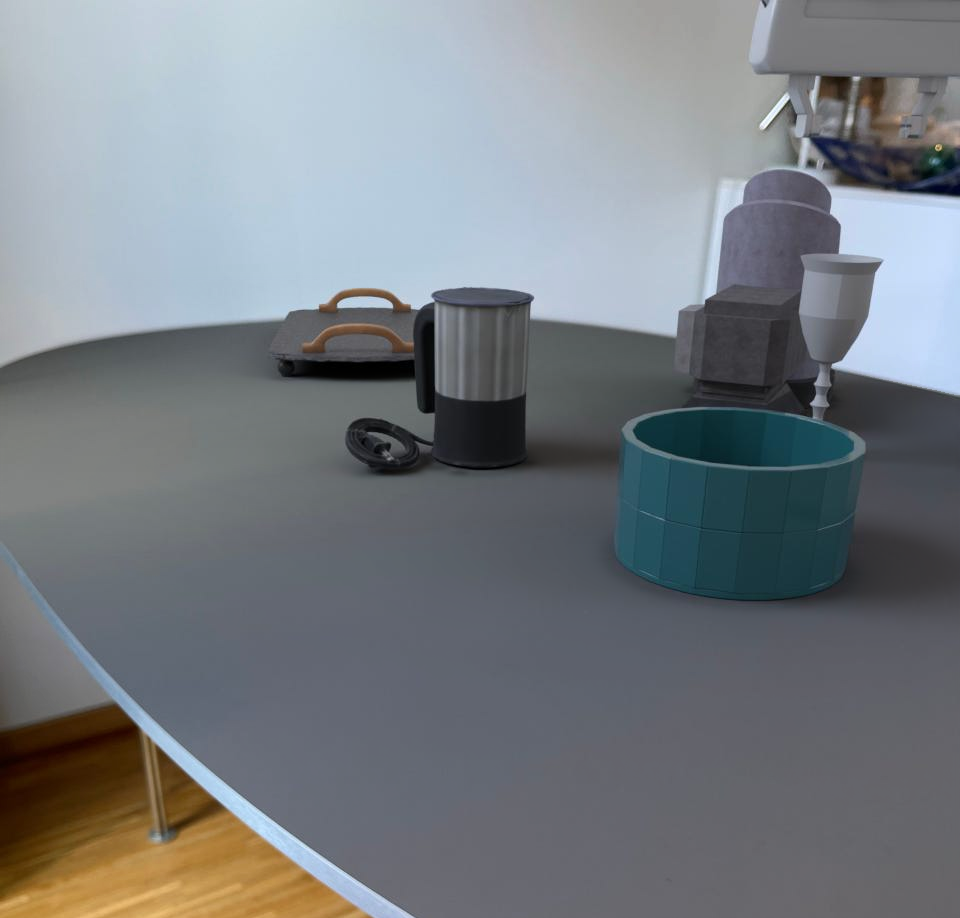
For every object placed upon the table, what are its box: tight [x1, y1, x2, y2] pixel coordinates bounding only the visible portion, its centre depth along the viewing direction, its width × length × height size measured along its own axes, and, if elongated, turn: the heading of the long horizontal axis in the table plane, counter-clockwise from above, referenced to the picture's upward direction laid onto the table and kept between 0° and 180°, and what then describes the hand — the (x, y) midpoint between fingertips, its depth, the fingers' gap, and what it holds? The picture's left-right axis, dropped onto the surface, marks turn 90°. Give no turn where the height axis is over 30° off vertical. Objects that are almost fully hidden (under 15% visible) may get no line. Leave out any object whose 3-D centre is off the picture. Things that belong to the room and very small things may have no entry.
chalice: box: [799, 253, 885, 421], centre depth 99 cm, size 7×7×18 cm
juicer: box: [673, 168, 842, 415], centre depth 117 cm, size 30×16×24 cm, turn 155°
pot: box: [613, 407, 867, 601], centre depth 77 cm, size 17×17×9 cm
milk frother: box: [344, 286, 535, 470], centre depth 97 cm, size 14×16×15 cm
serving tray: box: [266, 287, 420, 377], centre depth 145 cm, size 39×23×6 cm, turn 4°
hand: (859, 138), depth 90 cm, fingers open, 8 cm apart
